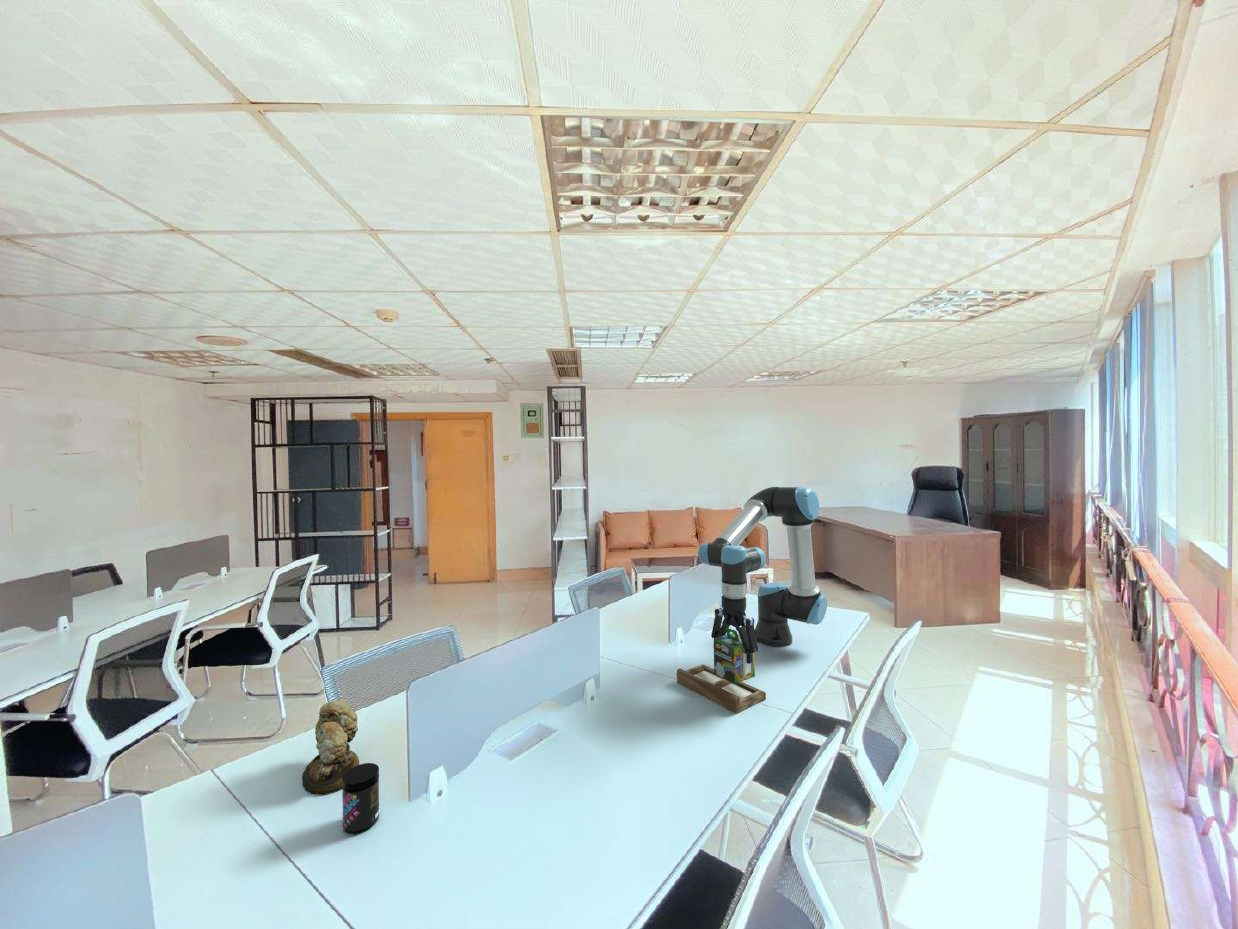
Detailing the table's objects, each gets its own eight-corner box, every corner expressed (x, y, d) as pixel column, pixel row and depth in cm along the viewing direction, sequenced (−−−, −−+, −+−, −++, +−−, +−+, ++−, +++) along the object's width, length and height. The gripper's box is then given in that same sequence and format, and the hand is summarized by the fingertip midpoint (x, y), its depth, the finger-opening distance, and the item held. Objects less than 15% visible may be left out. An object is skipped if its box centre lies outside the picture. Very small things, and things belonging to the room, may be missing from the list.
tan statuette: (300, 763, 119) (300, 694, 119) (353, 746, 126) (353, 681, 126) (303, 804, 105) (303, 725, 105) (364, 783, 111) (364, 709, 112)
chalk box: (755, 677, 148) (755, 630, 148) (734, 685, 143) (734, 635, 143) (733, 666, 156) (733, 621, 156) (712, 673, 151) (712, 627, 151)
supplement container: (347, 815, 101) (346, 766, 101) (382, 808, 103) (381, 760, 103) (338, 839, 95) (337, 787, 94) (376, 831, 97) (375, 780, 96)
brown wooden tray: (705, 671, 169) (705, 658, 169) (765, 699, 149) (765, 685, 149) (676, 682, 160) (676, 669, 160) (736, 714, 140) (736, 698, 140)
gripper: (699, 590, 156) (699, 659, 156) (755, 606, 138) (755, 683, 138) (715, 586, 160) (715, 653, 160) (771, 601, 143) (771, 676, 143)
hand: (734, 667), depth 149 cm, fingers closed on chalk box, 9 cm apart
